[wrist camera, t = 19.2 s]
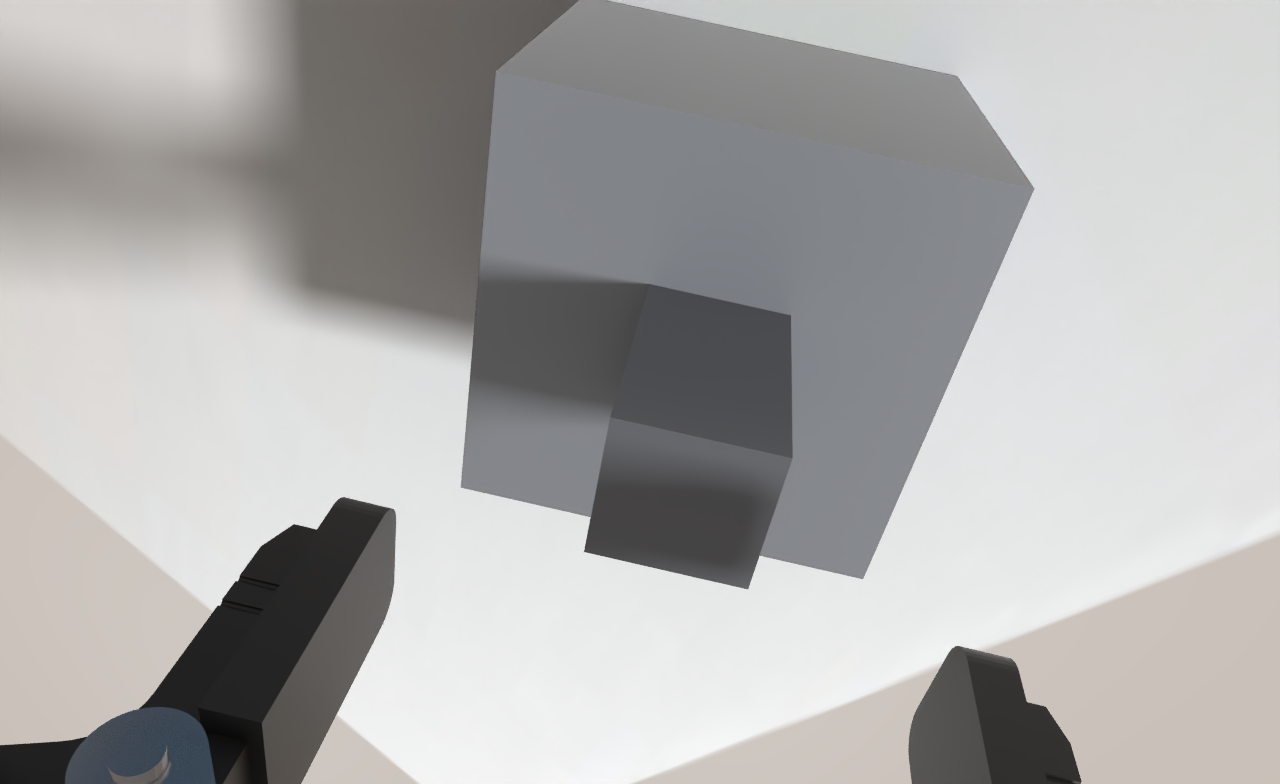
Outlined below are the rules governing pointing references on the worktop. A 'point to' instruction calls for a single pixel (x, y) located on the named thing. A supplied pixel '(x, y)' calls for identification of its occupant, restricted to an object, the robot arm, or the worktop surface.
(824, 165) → the gray block with peg
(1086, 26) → the worktop surface
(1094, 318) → the worktop surface
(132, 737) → the robot arm
